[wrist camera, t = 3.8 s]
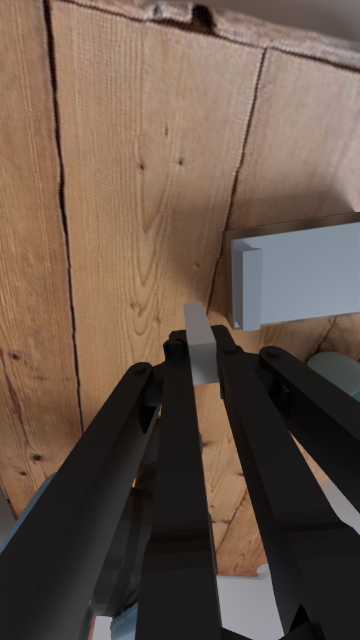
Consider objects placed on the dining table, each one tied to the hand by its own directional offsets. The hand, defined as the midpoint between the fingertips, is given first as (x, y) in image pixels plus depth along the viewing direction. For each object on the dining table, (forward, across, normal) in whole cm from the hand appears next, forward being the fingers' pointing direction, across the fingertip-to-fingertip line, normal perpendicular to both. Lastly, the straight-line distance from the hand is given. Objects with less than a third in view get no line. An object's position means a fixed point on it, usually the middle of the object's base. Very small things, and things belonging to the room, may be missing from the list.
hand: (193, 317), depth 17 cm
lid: (+10, +15, 0) cm, 18 cm away
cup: (+14, +23, -18) cm, 33 cm away
